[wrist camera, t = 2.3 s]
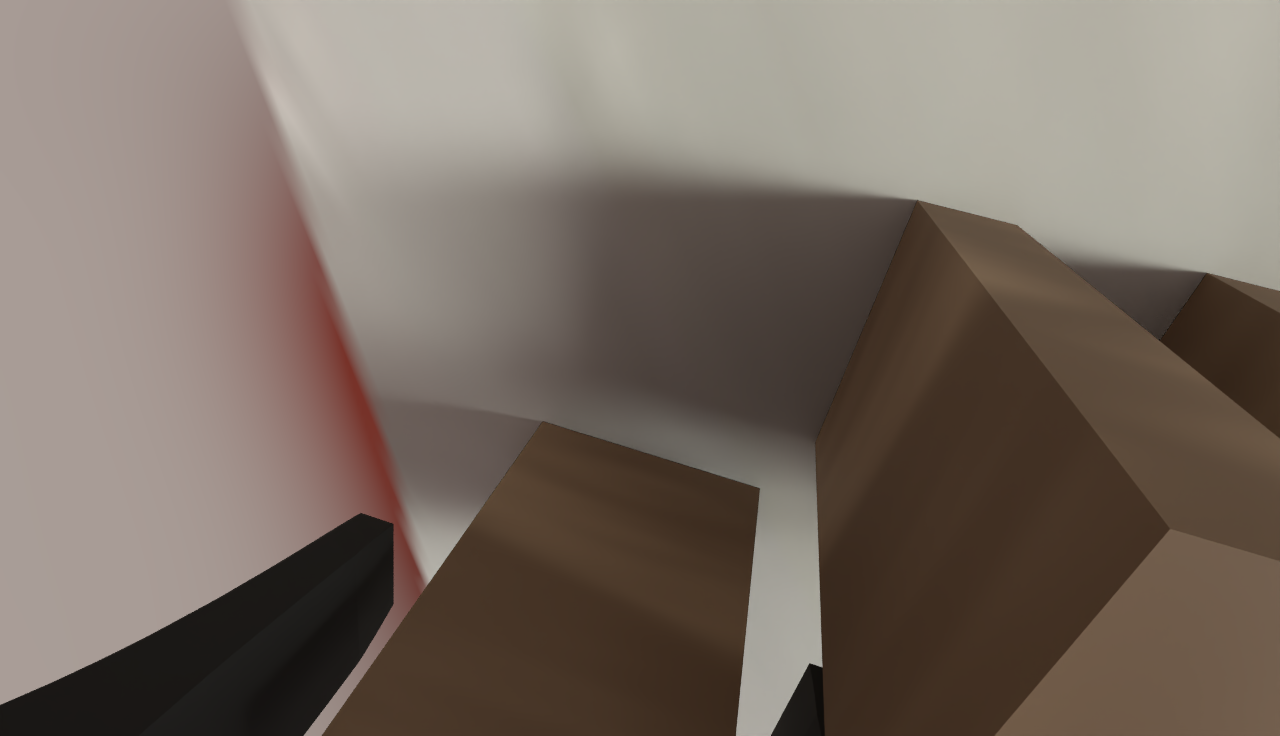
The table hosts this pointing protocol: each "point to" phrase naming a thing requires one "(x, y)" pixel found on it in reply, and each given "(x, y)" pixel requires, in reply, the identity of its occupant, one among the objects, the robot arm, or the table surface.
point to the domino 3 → (1233, 343)
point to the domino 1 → (576, 606)
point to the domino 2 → (1038, 512)
